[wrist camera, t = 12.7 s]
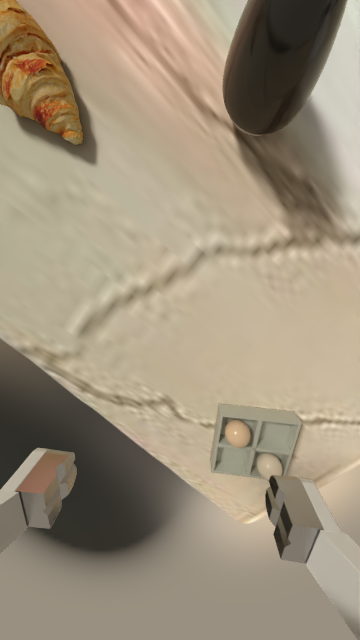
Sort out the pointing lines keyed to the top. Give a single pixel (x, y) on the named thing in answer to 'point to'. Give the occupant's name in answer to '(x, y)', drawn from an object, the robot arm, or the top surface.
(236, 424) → the brown egg
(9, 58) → the croissant
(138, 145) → the top surface
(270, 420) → the carton
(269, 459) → the pale egg
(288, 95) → the pump dispenser
